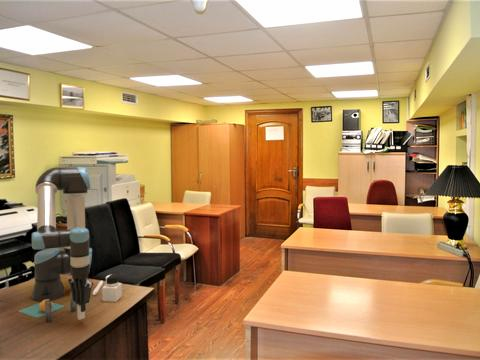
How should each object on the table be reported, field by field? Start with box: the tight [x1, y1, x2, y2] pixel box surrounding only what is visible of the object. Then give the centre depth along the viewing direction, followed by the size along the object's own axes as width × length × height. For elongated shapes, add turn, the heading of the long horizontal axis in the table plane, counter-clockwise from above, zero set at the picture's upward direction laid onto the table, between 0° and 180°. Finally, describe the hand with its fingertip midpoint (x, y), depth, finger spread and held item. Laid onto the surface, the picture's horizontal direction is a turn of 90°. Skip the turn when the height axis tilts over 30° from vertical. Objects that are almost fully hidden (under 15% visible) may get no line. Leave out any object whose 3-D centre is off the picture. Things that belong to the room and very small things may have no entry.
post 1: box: [44, 300, 53, 324], centre depth 167 cm, size 3×3×9 cm
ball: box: [39, 299, 54, 312], centre depth 177 cm, size 6×6×6 cm
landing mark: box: [17, 301, 65, 319], centre depth 180 cm, size 14×14×1 cm
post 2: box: [69, 291, 77, 313], centre depth 178 cm, size 3×3×9 cm
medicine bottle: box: [101, 273, 123, 303], centre depth 192 cm, size 7×7×12 cm
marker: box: [91, 280, 104, 296], centre depth 205 cm, size 18×2×2 cm, turn 7°
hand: (81, 318), depth 167 cm, fingers closed
